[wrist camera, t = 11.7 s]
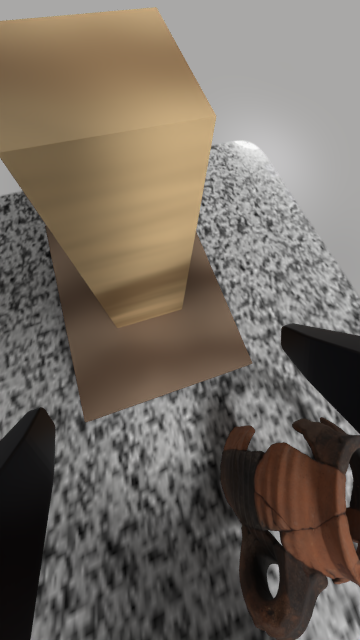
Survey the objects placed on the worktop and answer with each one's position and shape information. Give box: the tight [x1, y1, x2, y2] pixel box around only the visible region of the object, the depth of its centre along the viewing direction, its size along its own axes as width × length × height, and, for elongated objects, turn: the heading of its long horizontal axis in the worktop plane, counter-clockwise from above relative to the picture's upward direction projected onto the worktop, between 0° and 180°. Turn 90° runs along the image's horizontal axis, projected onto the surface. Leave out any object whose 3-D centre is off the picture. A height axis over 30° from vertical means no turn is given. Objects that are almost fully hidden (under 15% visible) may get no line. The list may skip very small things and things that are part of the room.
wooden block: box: [0, 7, 216, 328], centre depth 12 cm, size 5×5×13 cm
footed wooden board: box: [45, 226, 252, 422], centre depth 20 cm, size 16×12×4 cm
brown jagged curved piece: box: [220, 417, 360, 640], centre depth 16 cm, size 12×10×8 cm
